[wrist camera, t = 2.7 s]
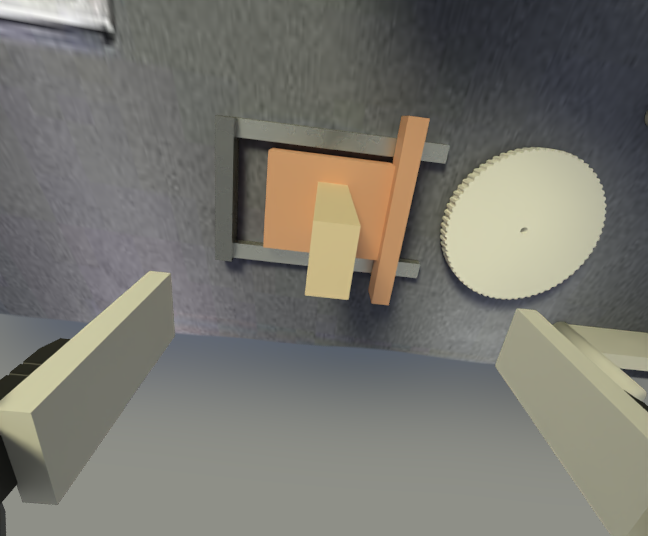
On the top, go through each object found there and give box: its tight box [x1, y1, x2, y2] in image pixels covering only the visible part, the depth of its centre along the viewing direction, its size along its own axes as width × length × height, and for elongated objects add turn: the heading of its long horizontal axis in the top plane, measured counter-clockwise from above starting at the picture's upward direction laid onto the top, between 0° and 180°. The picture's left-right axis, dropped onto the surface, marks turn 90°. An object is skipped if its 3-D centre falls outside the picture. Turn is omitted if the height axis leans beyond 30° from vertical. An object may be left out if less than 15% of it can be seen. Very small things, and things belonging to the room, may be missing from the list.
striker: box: [263, 116, 430, 305], centre depth 26 cm, size 12×16×14 cm
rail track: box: [215, 115, 450, 278], centre depth 32 cm, size 20×12×2 cm, turn 83°
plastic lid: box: [440, 147, 606, 300], centre depth 32 cm, size 14×14×2 cm
